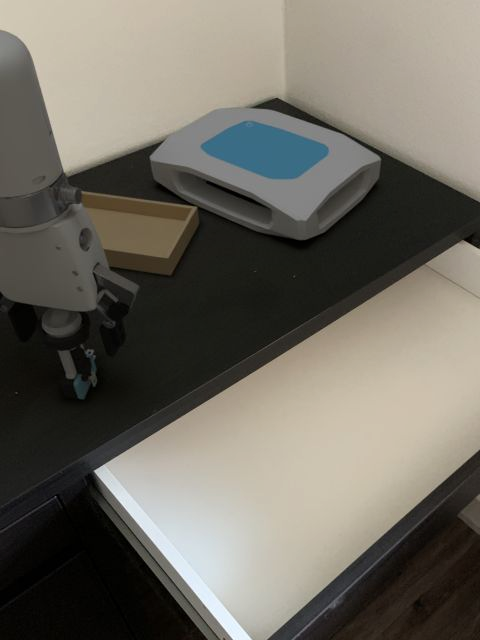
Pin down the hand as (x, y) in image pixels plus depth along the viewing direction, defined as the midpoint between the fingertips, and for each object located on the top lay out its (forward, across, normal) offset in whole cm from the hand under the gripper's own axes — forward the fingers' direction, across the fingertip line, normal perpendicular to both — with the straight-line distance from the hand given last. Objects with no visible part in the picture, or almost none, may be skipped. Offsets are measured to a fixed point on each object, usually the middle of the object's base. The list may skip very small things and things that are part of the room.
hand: (72, 340), depth 69 cm
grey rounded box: (+6, -10, -44) cm, 46 cm away
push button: (+6, 0, 0) cm, 6 cm away
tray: (+6, +6, -26) cm, 28 cm away
